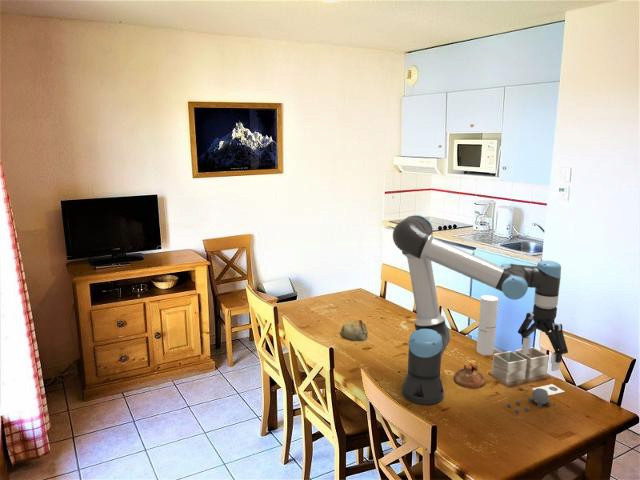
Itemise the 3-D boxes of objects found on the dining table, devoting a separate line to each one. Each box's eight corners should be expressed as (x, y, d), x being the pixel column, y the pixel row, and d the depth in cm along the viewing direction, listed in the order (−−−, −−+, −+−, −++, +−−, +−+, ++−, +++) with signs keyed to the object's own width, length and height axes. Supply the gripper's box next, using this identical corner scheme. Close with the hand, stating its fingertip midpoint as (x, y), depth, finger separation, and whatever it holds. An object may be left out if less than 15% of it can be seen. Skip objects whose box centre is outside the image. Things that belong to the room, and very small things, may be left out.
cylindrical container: (494, 356, 218) (499, 301, 213) (477, 354, 219) (481, 299, 214) (492, 349, 225) (497, 295, 219) (475, 347, 226) (480, 294, 221)
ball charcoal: (539, 408, 177) (540, 394, 176) (527, 400, 182) (529, 386, 181) (551, 405, 179) (553, 391, 178) (539, 398, 184) (541, 384, 183)
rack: (507, 386, 192) (509, 365, 190) (488, 374, 202) (490, 353, 200) (550, 377, 199) (552, 356, 197) (529, 365, 209) (531, 345, 207)
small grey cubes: (516, 413, 173) (517, 411, 173) (506, 406, 178) (506, 403, 178) (550, 405, 179) (551, 403, 179) (539, 398, 184) (539, 395, 183)
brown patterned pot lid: (471, 372, 204) (472, 355, 202) (491, 386, 193) (492, 368, 191) (447, 377, 199) (448, 360, 198) (466, 391, 189) (467, 373, 187)
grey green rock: (373, 339, 235) (374, 323, 233) (349, 343, 230) (350, 327, 228) (359, 328, 247) (359, 313, 246) (336, 332, 242) (336, 316, 241)
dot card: (543, 396, 185) (544, 396, 185) (531, 389, 190) (531, 388, 190) (564, 391, 188) (564, 391, 188) (552, 384, 194) (552, 383, 194)
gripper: (584, 315, 165) (576, 375, 170) (526, 293, 188) (521, 346, 192) (567, 318, 163) (560, 379, 167) (510, 296, 185) (506, 349, 189)
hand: (539, 362), depth 180 cm, fingers open, 13 cm apart
